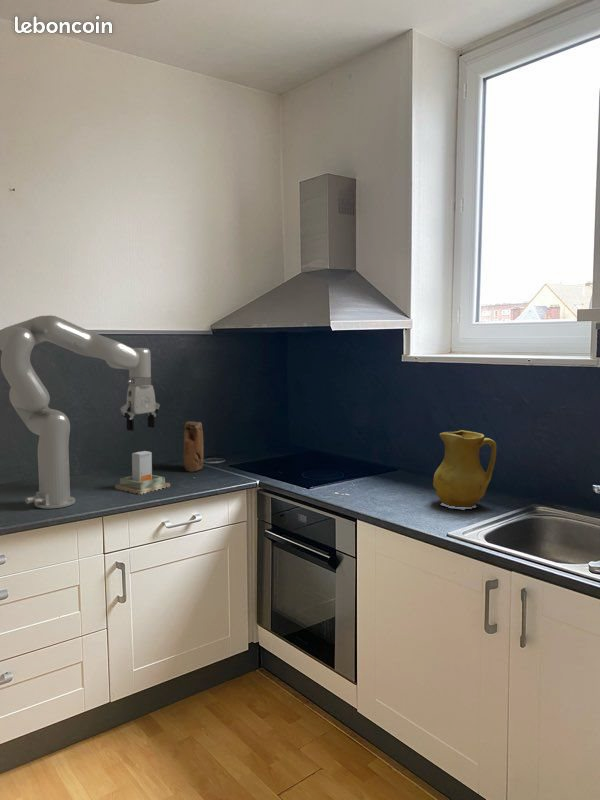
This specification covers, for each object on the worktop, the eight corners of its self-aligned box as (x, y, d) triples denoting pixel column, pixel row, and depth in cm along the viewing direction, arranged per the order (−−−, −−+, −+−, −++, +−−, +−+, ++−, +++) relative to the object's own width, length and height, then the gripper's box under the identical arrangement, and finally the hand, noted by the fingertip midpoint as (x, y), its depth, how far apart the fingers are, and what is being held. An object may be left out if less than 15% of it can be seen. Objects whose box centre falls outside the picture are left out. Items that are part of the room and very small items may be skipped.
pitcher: (445, 494, 222) (450, 425, 218) (496, 506, 210) (502, 433, 206) (422, 506, 209) (426, 432, 205) (475, 519, 197) (481, 442, 193)
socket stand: (140, 494, 221) (140, 484, 221) (114, 488, 230) (114, 478, 229) (170, 486, 233) (169, 477, 232) (144, 481, 241) (144, 471, 241)
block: (187, 466, 267) (186, 420, 265) (204, 467, 267) (204, 420, 265) (182, 472, 257) (181, 424, 254) (200, 472, 256) (199, 424, 254)
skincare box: (139, 487, 227) (139, 454, 226) (132, 485, 230) (131, 453, 229) (152, 483, 232) (152, 451, 231) (145, 482, 235) (144, 450, 233)
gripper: (127, 384, 218) (128, 432, 220) (165, 381, 232) (166, 427, 234) (114, 382, 222) (115, 430, 224) (151, 380, 236) (152, 425, 238)
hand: (141, 428), depth 229 cm, fingers open, 9 cm apart
